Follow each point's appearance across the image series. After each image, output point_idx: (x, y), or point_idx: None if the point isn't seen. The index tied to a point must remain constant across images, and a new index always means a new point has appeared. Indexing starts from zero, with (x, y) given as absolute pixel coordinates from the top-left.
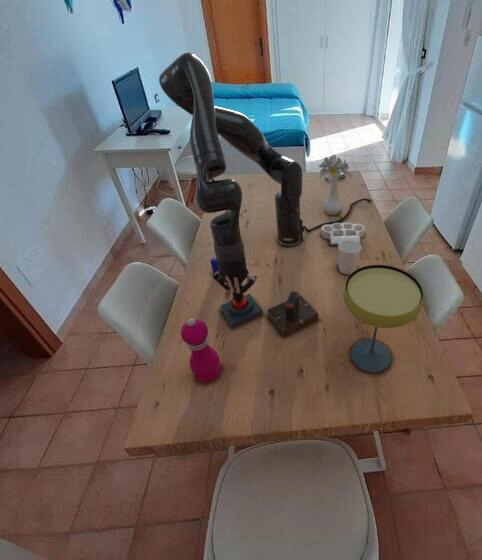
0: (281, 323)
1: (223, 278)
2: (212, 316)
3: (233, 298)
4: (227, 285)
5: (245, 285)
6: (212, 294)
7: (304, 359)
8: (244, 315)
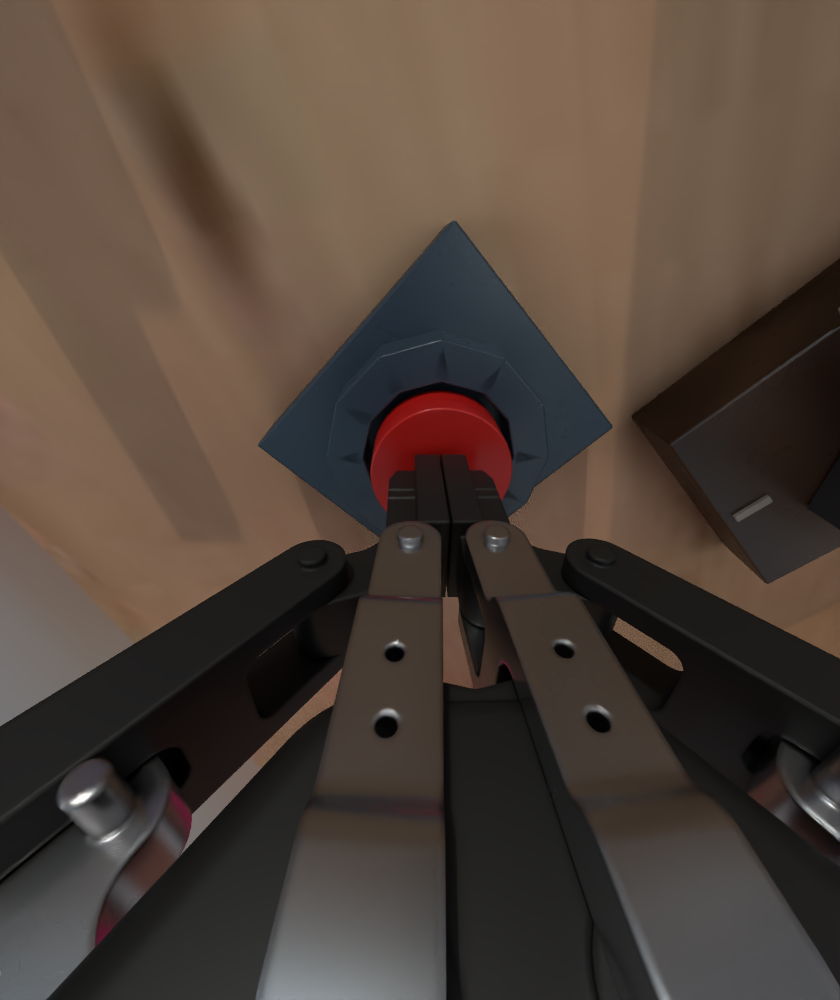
0: (764, 544)
1: (200, 724)
2: (248, 484)
3: (349, 409)
4: (321, 649)
5: (603, 604)
6: (59, 239)
7: (797, 625)
8: None
